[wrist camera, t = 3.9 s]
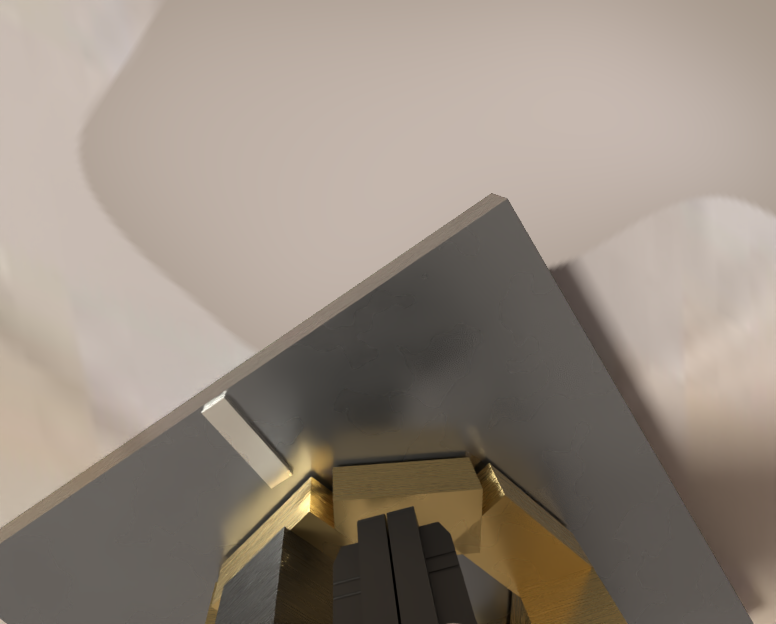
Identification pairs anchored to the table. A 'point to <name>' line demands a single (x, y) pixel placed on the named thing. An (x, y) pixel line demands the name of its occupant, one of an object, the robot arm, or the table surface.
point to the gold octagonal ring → (432, 504)
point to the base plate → (378, 446)
